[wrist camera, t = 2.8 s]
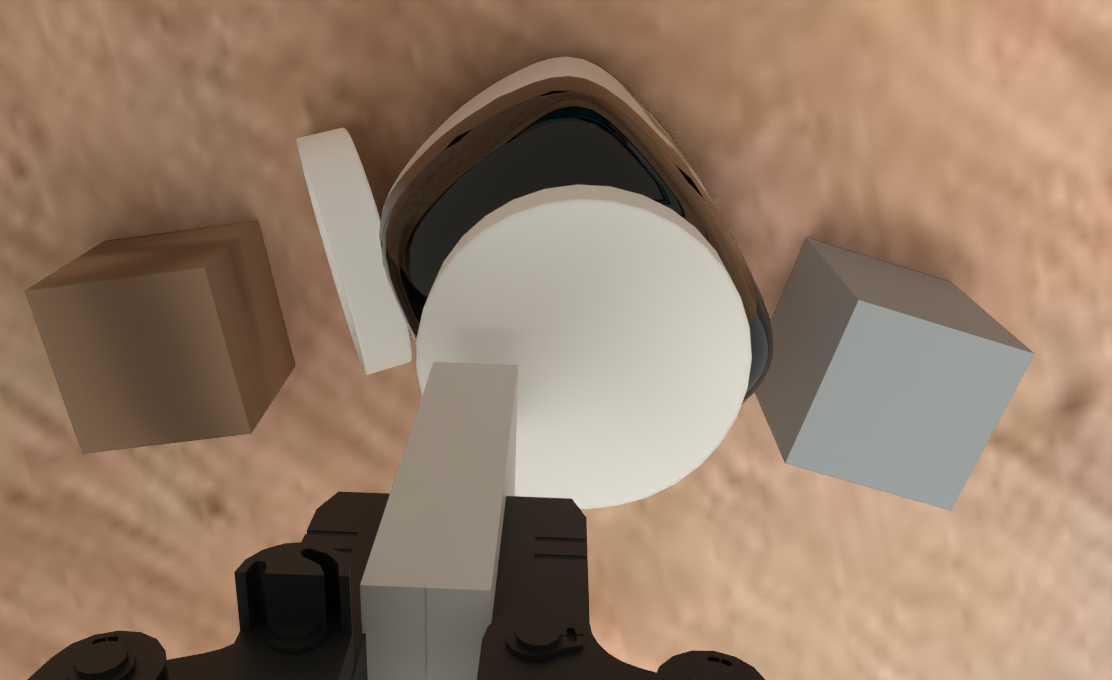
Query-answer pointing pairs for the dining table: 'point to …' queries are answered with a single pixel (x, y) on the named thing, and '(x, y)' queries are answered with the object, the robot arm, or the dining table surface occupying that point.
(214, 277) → the walnut block
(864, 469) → the slate block
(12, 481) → the dining table surface
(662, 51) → the dining table surface
